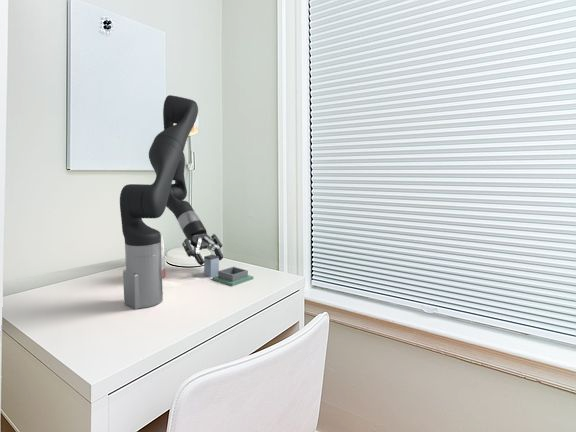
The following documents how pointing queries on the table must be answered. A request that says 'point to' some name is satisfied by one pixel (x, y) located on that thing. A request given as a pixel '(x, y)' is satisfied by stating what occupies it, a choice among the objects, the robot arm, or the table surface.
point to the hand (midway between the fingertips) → (212, 261)
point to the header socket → (232, 276)
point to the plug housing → (211, 265)
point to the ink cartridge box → (162, 257)
